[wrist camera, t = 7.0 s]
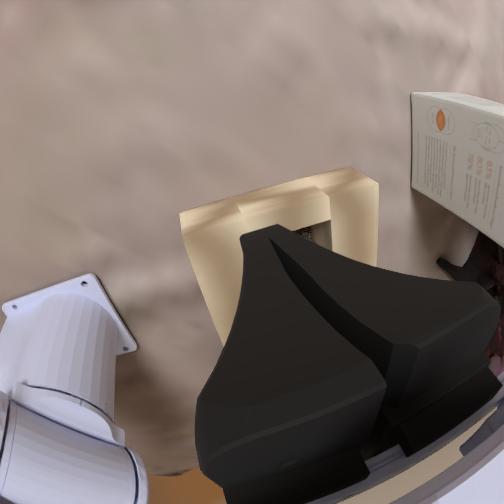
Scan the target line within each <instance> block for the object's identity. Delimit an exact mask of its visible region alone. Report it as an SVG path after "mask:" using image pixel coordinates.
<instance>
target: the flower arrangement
mask: <svg viewBox="0 0 504 504" xmlns="http://www.w3.org/2000/svg"><path fill="white" fill-rule="evenodd" d="M436 263H437V264H438V265H439V266H440V267H441V268H442V269H444V270H446V271H447V272H448V273H449V274H450V275H451V276H452V277H453V278H454V279H455V280H456V281H463V282H477V283H478V284H479V285H480V286H481V287H482V288H483V289H484V290H486V291H487V292H488V293H489V294H490V295H491V296H492V297H493V298H494V299H495V300H496V301H497V302H498V303H499V304H500V308H501V314H500V319H499V322H498V325H497V327H496V330H495V332H494V334H493V336H492V338H491V340H490V342H489V343H488V345H487V347H486V349H485V351H484V352H485V353H486V354H487V355H488V357H489V358H490V359H491V363H490V365H489V366H488V367H489V369H490V370H491V371H492V372H493V374H494V375H495V376H496V377H497V376H499V375H500V374H501V373H502V372H503V371H504V248H503V247H502V246H500V245H499V244H498V243H496V242H495V241H493V240H492V239H491V238H489V237H488V236H487V235H485V234H484V233H482V232H481V231H480V230H479V233H478V236H477V238H476V241H475V244H474V246H473V249H472V251H471V253H470V255H469V258H468V260H467V261H466V263H465V264H464V266H463V267H459V266H455V265H452V264H450V263H449V262H448V261H446V260H445V259H438V260H437V262H436Z"/></svg>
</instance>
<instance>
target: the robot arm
mask: <svg viewBox="0 0 504 504" xmlns="http://www.w3.org/2000/svg"><path fill="white" fill-rule="evenodd" d="M239 240H240V244H241V248H242V252H243V276H242V284H241V291H240V297H239V302H238V306H237V310H236V314H235V317H234V320H233V324H232V327H231V330H230V333H229V336H228V338H227V341H226V343H225V346H224V348H223V350H222V352H221V355H220V357H219V359H218V362H217V364H216V366H215V368H214V370H213V372H212V373H211V375H210V377H209V379H208V380H207V382H206V384H205V386H204V388H203V389H202V391H201V393H200V395H199V396H198V398H197V405H196V415H195V445H196V450H197V455H198V460H199V465H200V470H201V471H202V472H203V474H204V475H205V476H207V477H208V478H209V479H211V480H212V481H213V482H215V483H216V484H218V485H219V486H220V487H221V488H223V492H224V495H225V499H226V503H227V504H336V503H339V502H341V501H344V500H346V499H348V498H351V497H353V496H355V495H358V494H360V493H362V492H364V491H366V490H369V489H371V488H373V487H375V486H377V485H379V484H381V483H383V482H385V481H386V480H389V479H390V478H393V477H394V476H396V475H398V474H400V473H402V472H404V471H405V470H407V469H409V468H411V467H412V466H414V465H416V464H417V463H419V462H420V461H422V460H424V459H426V458H427V457H429V456H430V455H432V454H434V453H435V452H437V451H438V450H440V449H441V448H443V447H444V446H446V445H447V444H449V443H450V442H451V441H453V440H454V439H456V438H457V437H458V436H460V435H461V434H463V433H464V432H465V431H467V430H468V429H469V428H470V427H472V426H473V425H475V424H476V423H477V422H478V421H480V420H481V419H482V418H483V417H485V416H486V415H487V414H488V413H489V412H491V411H492V410H493V409H494V408H495V407H496V406H498V407H497V410H496V411H495V412H494V413H493V414H492V415H491V416H489V417H488V418H487V419H486V420H485V422H484V423H483V424H482V426H481V427H480V428H479V429H478V430H477V431H476V432H475V433H474V434H473V435H472V436H471V437H470V438H469V439H468V440H467V441H466V442H465V443H464V444H463V445H461V446H460V449H459V450H460V452H461V453H462V455H463V456H464V457H463V458H462V459H460V460H459V461H457V462H456V463H455V464H453V465H452V466H451V467H449V468H447V469H446V470H445V471H443V472H441V473H440V474H438V475H437V476H435V477H434V478H432V479H431V480H429V481H428V482H426V483H424V484H423V485H421V486H419V487H418V488H416V489H414V490H413V491H411V492H409V493H408V494H406V495H404V496H402V497H401V498H399V499H397V500H395V501H393V502H391V503H389V504H504V371H503V372H502V373H501V374H500V375H499V376H497V377H496V376H495V375H494V374H493V372H492V371H491V370H490V369H489V367H488V366H489V365H490V363H491V359H490V358H489V357H488V355H487V354H486V353H485V352H484V351H485V349H486V347H487V345H488V343H489V342H490V340H491V338H492V336H493V334H494V332H495V330H496V327H497V325H498V322H499V319H500V314H501V308H500V304H499V303H498V302H497V301H496V300H495V299H494V298H493V297H492V296H491V295H490V294H489V293H488V292H487V291H486V290H484V289H483V288H482V287H481V286H480V285H479V284H478V283H477V282H463V281H448V280H438V279H431V278H424V277H417V276H412V275H407V274H402V273H398V272H394V271H389V270H385V269H381V268H378V267H374V266H371V265H368V264H365V263H362V262H359V261H356V260H353V259H350V258H348V257H345V256H343V255H340V254H338V253H336V252H333V251H331V250H329V249H326V248H324V247H322V246H320V245H318V244H316V243H314V242H312V241H310V240H308V239H306V238H304V237H302V236H300V235H298V234H296V233H294V232H293V231H291V230H289V229H287V228H285V227H283V226H281V225H279V224H275V225H272V226H268V227H265V228H262V229H258V230H255V231H251V232H248V233H245V234H242V235H241V236H240V238H239ZM82 281H85V282H87V284H84V283H83V282H82ZM15 305H16V306H17V307H16V306H15ZM2 310H3V312H4V313H5V314H6V316H7V319H6V321H5V323H4V326H3V328H2V330H1V333H0V504H148V501H149V479H148V475H147V471H146V469H145V466H144V463H143V461H142V459H141V457H140V455H139V454H138V453H137V451H136V450H134V449H133V448H132V447H130V446H127V445H125V430H123V429H121V428H119V427H117V426H115V425H114V399H115V368H116V355H120V354H124V353H128V352H132V351H135V350H136V349H137V343H136V342H135V340H134V339H133V337H132V336H131V334H130V333H129V331H128V329H127V328H126V326H125V325H124V323H123V321H122V320H121V318H120V316H119V315H118V313H117V312H116V310H115V308H114V307H113V305H112V303H111V301H110V300H109V298H108V296H107V295H106V293H105V291H104V289H103V287H102V286H101V284H100V282H99V280H98V278H97V277H96V276H95V275H94V274H91V273H90V274H86V275H83V276H80V277H77V278H74V279H71V280H68V281H65V282H62V283H59V284H56V285H54V286H51V287H48V288H45V289H42V290H39V291H36V292H34V293H31V294H28V295H25V296H22V297H19V298H17V299H14V300H11V301H8V302H6V303H4V304H3V306H2ZM125 347H127V348H125Z"/></svg>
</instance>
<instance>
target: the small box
mask: <svg viewBox="0 0 504 504" xmlns="http://www.w3.org/2000/svg"><path fill="white" fill-rule="evenodd" d="M411 102H412V183H411V187H412V188H414V189H415V190H417V191H419V192H420V193H422V194H424V195H426V196H427V197H429V198H430V199H432V200H434V201H435V202H437V203H439V204H440V205H442V206H443V207H445V208H446V209H448V210H449V211H451V212H453V213H454V214H456V215H457V216H459V217H460V218H462V219H463V220H465V221H466V222H468V223H469V224H471V225H472V226H474V227H475V228H477V229H478V230H480V231H481V232H482V233H484V234H485V235H487V236H488V237H489V238H491V239H492V240H493V241H495V242H496V243H498V244H499V245H500V246H502V247H503V248H504V104H501V103H497V102H494V101H490V100H487V99H483V98H479V97H475V96H471V95H467V94H462V93H439V92H414V93H411Z"/></svg>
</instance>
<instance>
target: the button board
mask: <svg viewBox="0 0 504 504" xmlns="http://www.w3.org/2000/svg"><path fill="white" fill-rule="evenodd" d="M378 201H379V187H378V183H376V182H375V181H373V180H371V179H370V178H368V177H366V176H365V175H363V174H361V173H360V172H358V171H356V170H355V169H353V168H351V167H347V168H343V169H339V170H334V171H330V172H326V173H322V174H318V175H314V176H310V177H306V178H302V179H298V180H294V181H290V182H286V183H282V184H278V185H275V186H271V187H267V188H264V189H260V190H256V191H253V192H249V193H245V194H242V195H238V196H235V197H231V198H228V199H224V200H221V201H217V202H214V203H211V204H207V205H204V206H201V207H197V208H194V209H191V210H188V211H184V212H181V213H179V214H180V222H181V230H182V237H183V242H184V244H185V247H186V250H187V253H188V256H189V258H190V261H191V264H192V267H193V269H194V272H195V275H196V278H197V280H198V283H199V286H200V288H201V291H202V293H203V296H204V299H205V301H206V304H207V307H208V309H209V312H210V314H211V317H212V319H213V322H214V324H215V327H216V329H217V332H218V334H219V337H220V339H221V342H222V344H223V347H224V346H225V343H226V341H227V338H228V336H229V333H230V330H231V327H232V324H233V320H234V317H235V314H236V310H237V306H238V302H239V297H240V291H241V284H242V276H243V252H242V248H241V244H240V240H239V238H240V236H241V235H242V234H245V233H248V232H251V231H255V230H258V229H262V228H265V227H268V226H272V225H275V224H279V225H281V226H283V227H285V228H287V229H289V230H291V231H294V230H297V229H300V228H304V227H307V226H311V235H312V240H314V241H315V242H316V244H318V245H320V246H322V247H324V248H326V249H329V250H331V251H333V252H336V253H338V254H340V255H343V256H345V257H348V258H350V259H353V260H356V261H359V262H362V263H365V264H368V265H371V266H374V267H376V261H377V241H378Z"/></svg>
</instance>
